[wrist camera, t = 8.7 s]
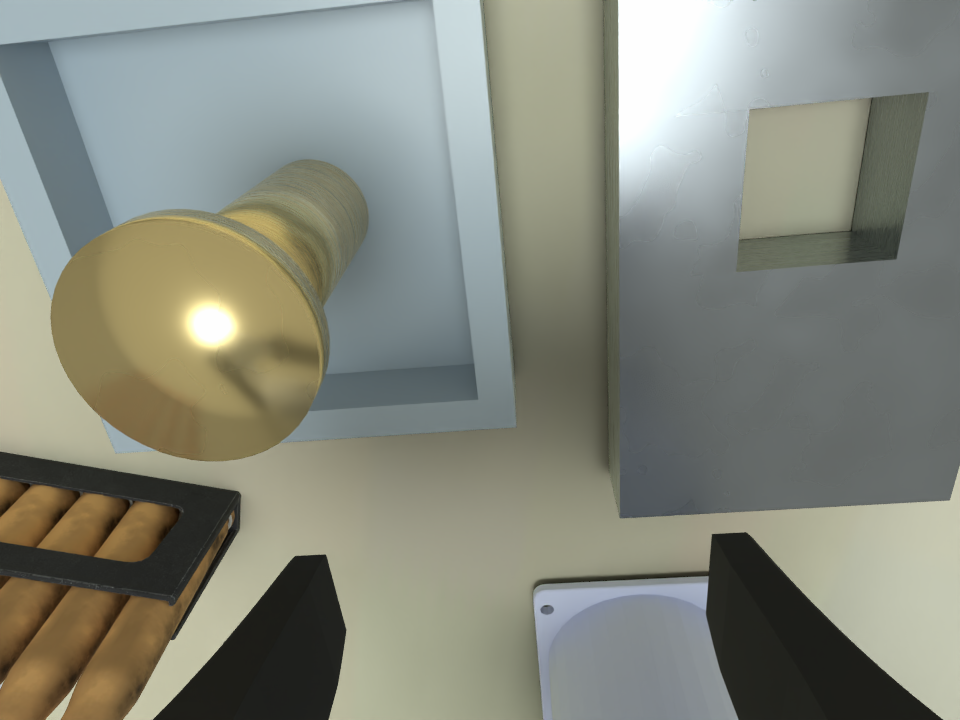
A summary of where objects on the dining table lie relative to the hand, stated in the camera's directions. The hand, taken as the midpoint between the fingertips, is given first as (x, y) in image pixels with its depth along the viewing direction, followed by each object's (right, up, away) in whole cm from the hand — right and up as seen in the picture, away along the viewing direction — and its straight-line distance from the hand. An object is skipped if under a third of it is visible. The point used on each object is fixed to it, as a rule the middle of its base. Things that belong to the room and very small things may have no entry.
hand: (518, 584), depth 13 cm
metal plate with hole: (+8, +10, +6) cm, 14 cm away
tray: (-6, +9, +7) cm, 13 cm away
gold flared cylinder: (-5, +8, +6) cm, 12 cm away
